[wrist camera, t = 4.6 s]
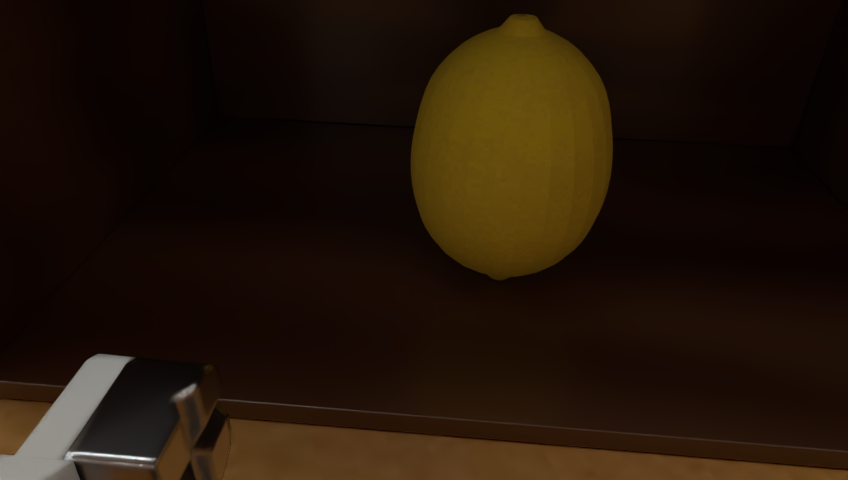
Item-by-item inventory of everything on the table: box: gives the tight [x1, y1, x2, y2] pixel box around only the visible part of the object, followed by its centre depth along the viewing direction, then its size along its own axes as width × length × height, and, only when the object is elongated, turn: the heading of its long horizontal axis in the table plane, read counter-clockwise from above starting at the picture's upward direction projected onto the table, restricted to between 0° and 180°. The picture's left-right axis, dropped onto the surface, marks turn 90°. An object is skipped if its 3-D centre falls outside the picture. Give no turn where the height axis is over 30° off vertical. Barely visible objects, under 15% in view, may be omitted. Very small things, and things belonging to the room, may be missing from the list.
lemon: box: [411, 14, 613, 280], centre depth 19 cm, size 6×6×8 cm
